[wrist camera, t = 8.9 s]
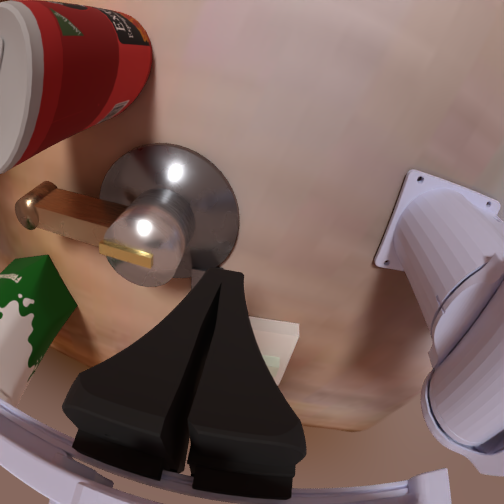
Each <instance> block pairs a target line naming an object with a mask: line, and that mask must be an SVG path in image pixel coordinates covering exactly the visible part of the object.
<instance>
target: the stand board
mask: <svg viewBox="0 0 504 504" xmlns="http://www.w3.org/2000/svg"><path fill="white" fill-rule="evenodd" d="M249 319H250V323H251V326H252V329H253V333H254V336H255V339H256V341H257V344H258V347H259V349H260V352H261V354H262V356H263V359H264V361H265V363H266V365H267V367H268V369H269V371H270V373H271V375H272V377H273V379H274V381H275V382H276V384H277V385H279V383H280V381H281V379H282V376H283V374H284V372H285V369H286V367H287V365H288V362H289V360H290V357H291V355H292V353H293V350H294V348H295V345H296V343H297V340H298V338H299V324H297V323H290V322H283V321H277V320H270V319H264V318H257V317H251V316H249Z"/></svg>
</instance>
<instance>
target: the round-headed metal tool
mask: <svg viewBox="0 0 504 504" xmlns="http://www.w3.org/2000/svg"><path fill="white" fill-rule="evenodd" d="M15 212H16V216H17V218H18V220H19V222H20V223H21V224H22V225H23V226H24V227H25V228H27V229H29V230H33V229H35V228H36V227H38V228H41V229H44V230H47V231H50V232H53V233H56V234H59V235H62V236H65V237H68V238H71V239H75V240H78V241H81V242H84V243H87V244H90V245H94V246H97V247H99V252H100V254H103V255H106V257H107V259H108V261H109V263H110V264H111V266H112V267H113V268H114V270H115V271H116V272H117V273H118V274H120V275H121V276H122V277H123V278H125V279H126V280H128V281H130V282H132V283H134V284H137V285H140V286H145V287H156V286H161V285H163V284H165V283H167V282H168V281H169V280H170V279H171V278H172V277H173V276H174V274H175V272H176V270H177V267H178V265H179V263H180V261H181V259H182V257H183V255H184V253H185V251H186V249H187V247H188V245H189V242H190V240H191V238H192V236H193V234H194V231H195V217H194V214H193V211H192V209H191V208H190V206H189V204H188V203H187V202H186V201H185V200H184V199H183V198H182V197H181V196H179V195H178V194H176V193H174V192H172V191H170V190H167V189H161V188H155V189H149V190H147V191H144V192H143V193H141V194H140V195H139V196H138V197H137V198H136V199H135V200H134V201H133V202H132V203H131V204H130V205H129V206H126V205H122V204H118V203H114V202H110V201H106V200H102V199H98V198H94V197H90V196H86V195H82V194H78V193H74V192H70V191H66V190H61V189H58V188H57V187H56V186H55V185H54V184H53V183H52V182H49V181H44V182H43V183H41V184H40V185H38V186H37V187H35V188H34V189H33V190H31V191H30V192H29V193H27V194H26V195H24V196H23V197H22V198H20V199H19V200H18V201H17V202H16V204H15Z"/></svg>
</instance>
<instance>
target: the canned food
mask: <svg viewBox="0 0 504 504" xmlns="http://www.w3.org/2000/svg"><path fill="white" fill-rule="evenodd" d="M151 64H152V47H151V42H150V39H149V37H148V35H147V33H146V31H145V30H144V28H143V27H142V26H141V25H140V23H139V22H138V21H137V20H135V19H134V18H133V17H131V16H129V15H127V14H124V13H121V12H116V11H112V10H107V9H102V8H96V7H90V6H84V5H77V4H70V3H61V2H51V1H37V0H11V1H5V2H0V174H2V173H5V172H6V171H8V170H10V169H11V168H13V167H15V166H16V165H18V164H20V163H22V162H24V161H25V160H27V159H29V158H31V157H32V156H34V155H36V154H38V153H39V152H41V151H43V150H45V149H47V148H49V147H50V146H52V145H54V144H56V143H58V142H60V141H62V140H64V139H66V138H68V137H70V136H72V135H74V134H76V133H78V132H80V131H83V130H85V129H87V128H89V127H91V126H94V125H96V124H98V123H100V122H103V121H105V120H108V119H110V118H112V117H115V116H116V115H118V114H119V113H121V112H122V111H124V110H125V109H126V108H127V107H128V106H129V105H130V104H131V103H132V102H133V101H134V100H135V99H136V97H137V96H138V95H139V93H140V92H141V91H142V89H143V87H144V85H145V83H146V82H147V79H148V76H149V73H150V70H151Z"/></svg>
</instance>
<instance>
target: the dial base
mask: <svg viewBox="0 0 504 504" xmlns="http://www.w3.org/2000/svg"><path fill="white" fill-rule="evenodd" d="M155 188H161V189H167V190H170V191H172V192H174V193H176V194H178V195H179V196H181V197H182V198H183V199H184V200H185V201H186V202H187V203H188V204H189V206H190V208H191V209H192V211H193V214H194V217H195V231H194V234H193V236H192V238H191V240H190V242H189V245H188V247H187V249H186V251H185V253H184V255H183V257H182V259H181V261H180V263H179V265H178V267H177V270H176V272H175V274H174V276H173V277H172V278H189V277H192V283H191V290H192V289H193V288H194V286H195V285H196V284H197V283H198V281H199V280H200V279H201V277H202V276H203V275H204V273H205V272H206V270H207V269H208V268H210V267H212V268H218V269H223V268H220V267H217V266H218V265H220V264H221V263H222V262H223V261H224V260H225V259H226V257H227V256H228V255H229V253H230V252H231V250H232V248H233V246H234V243H235V241H236V238H237V233H238V229H239V208H238V204H237V200H236V197H235V194H234V192H233V190H232V188H231V186H230V184H229V182H228V181H227V179H226V178H225V177H224V175H223V174H222V172H221V171H220V170H219V169H218V168H217V167H216V166H215V165H214V164H213V163H211V162H210V161H209V160H208V159H206V158H205V157H203V156H202V155H200V154H199V153H197V152H195V151H193V150H190V149H188V148H185V147H182V146H179V145H174V144H168V143H155V144H148V145H144V146H141V147H138V148H136V149H134V150H131V151H130V152H128V153H127V154H125V155H124V156H122V157H121V158H119V159H118V160H117V161H116V162H115V163H114V164H113V165H112V167H111V168H110V169H109V171H108V172H107V174H106V176H105V178H104V180H103V183H102V186H101V191H100V199H102V200H106V201H110V202H114V203H118V204H122V205H126V206H129V205H130V204H131V203H132V202H133V201H134V200H135V199H136V198H137V197H138V196H139V195H140V194H141V193H143V192H144V191H147V190H149V189H155Z"/></svg>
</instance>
